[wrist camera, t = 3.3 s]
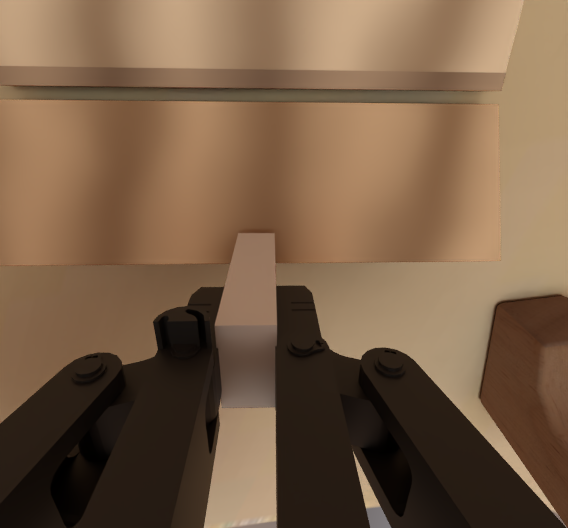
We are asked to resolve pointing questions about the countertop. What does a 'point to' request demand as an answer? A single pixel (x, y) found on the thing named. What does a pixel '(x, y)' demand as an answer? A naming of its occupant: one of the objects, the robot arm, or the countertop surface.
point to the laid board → (259, 43)
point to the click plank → (247, 181)
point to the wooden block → (532, 389)
